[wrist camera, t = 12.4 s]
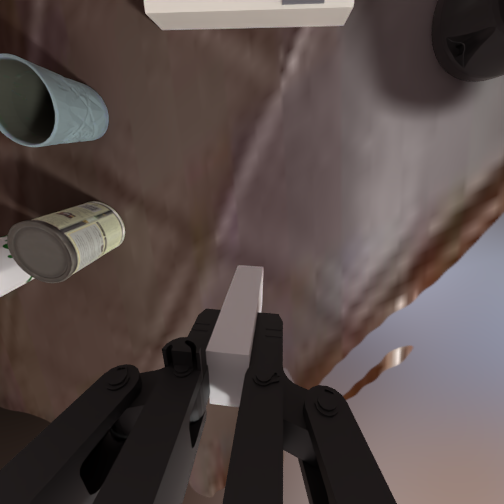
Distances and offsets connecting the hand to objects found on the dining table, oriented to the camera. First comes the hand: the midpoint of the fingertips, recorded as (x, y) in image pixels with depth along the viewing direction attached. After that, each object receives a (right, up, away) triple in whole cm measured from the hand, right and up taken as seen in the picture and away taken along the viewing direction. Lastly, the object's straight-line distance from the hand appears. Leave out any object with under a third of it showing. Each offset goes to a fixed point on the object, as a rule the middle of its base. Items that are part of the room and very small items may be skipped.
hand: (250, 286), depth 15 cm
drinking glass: (-28, +26, +27) cm, 47 cm away
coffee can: (-31, +7, +36) cm, 47 cm away
